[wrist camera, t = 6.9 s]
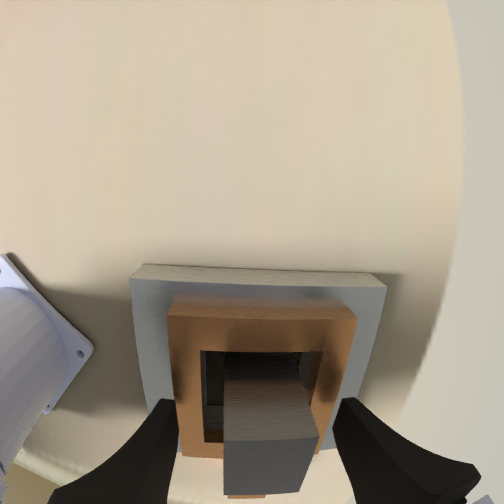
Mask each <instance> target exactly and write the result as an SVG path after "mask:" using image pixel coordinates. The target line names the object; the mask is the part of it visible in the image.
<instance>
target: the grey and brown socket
mask: <svg viewBox="0 0 504 504" xmlns="http://www.w3.org/2000/svg"><path fill="white" fill-rule="evenodd" d="M129 280H130V293H131V304H132V314H133V324H134V332H135V340H136V347H137V354H138V361H139V367H140V373H141V379H142V384H143V390H144V395H145V400H146V405H147V410H148V414H150V413H151V411H152V410H153V408H154V407H155V405H156V404H157V402H158V400H159V399H161V398H163V399H173V400H175V402H176V410H177V418H178V425H179V438H178V448H177V452H182V455H183V456H189V457H203V458H223V426H224V406H215V405H207V392H206V351H228V352H301V357H300V363H299V369H298V373H299V376H300V379H301V382H302V385H303V388H304V391H305V393H306V396H307V399H308V402H309V405H310V408H311V411H312V414H313V417H314V420H315V423H316V426H317V429H318V432H319V435H320V438H319V440H318V443H317V446H316V449H315V452H314V454H318V452H319V450H326V449H333V448H337V447H336V443H335V439H334V435H333V430H332V426H333V423H334V421H335V418H336V415H337V412H338V409H339V406H340V403H341V400H342V398H349V397H355V398H356V399H357V396H358V393H359V391H360V388H361V385H362V382H363V379H364V375H365V372H366V369H367V366H368V363H369V359H370V356H371V352H372V349H373V345H374V342H375V338H376V334H377V331H378V327H379V323H380V319H381V315H382V310H383V306H384V302H385V297H386V293H387V288H388V287H387V286H386V285H385V284H383V283H382V282H381V281H379V280H378V279H377V278H375V277H374V276H373V275H371V274H370V273H349V272H314V271H284V270H257V269H233V268H211V267H190V266H171V265H152V264H142V265H141V266H140V267H139V268H138V269H137V271H136V272H135V273H134V274H133V275H132V276H131V277H130V278H129ZM314 454H313V455H314ZM228 498H229V499H247V498H265V495H228Z"/></svg>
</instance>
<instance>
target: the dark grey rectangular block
mask: <svg viewBox="0 0 504 504" xmlns="http://www.w3.org/2000/svg"><path fill="white" fill-rule="evenodd" d="M319 438H320V435H319V432H318V429H317V426H316V423H315V420H314V417H313V414H312V411H311V408H310V405H309V402H308V399H307V396H306V393H305V391H304V388H303V385H302V382H301V379H300V376H299V373H298V370H297V367H296V364H295V361H294V358H293V355H292V352H228V351H225V361H224V426H223V476H224V495H267V494H282V493H293V492H299V490H300V487H301V485H302V483H303V480H304V478H305V475H306V473H307V470H308V468H309V465H310V462H311V460H312V457H313V454H314V452H315V449H316V446H317V443H318V440H319Z"/></svg>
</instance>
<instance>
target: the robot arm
mask: <svg viewBox="0 0 504 504" xmlns="http://www.w3.org/2000/svg"><path fill="white" fill-rule="evenodd" d="M0 268H1V270H0V504H4V502H3V501H2V499H3V497H4V495H5V492H6V490H7V488H8V487H7V485H6V484H5V483H4V481H3V478H4V475H6V473H7V471H8V469H9V468H10V466H11V464H12V462H13V460H14V459H15V457H16V455H17V453H18V452H19V450H20V448H21V447H22V445H23V443H24V442H25V440H26V438H27V437H28V435H29V433H30V432H31V430H32V429H33V427H34V425H35V424H36V422H37V421H38V419H39V417H40V416H41V414H42V413H44V414H47V415H48V414H49V413H50V412H51V410H52V409H53V407H54V406H55V404H56V403H57V401H58V400H59V398H60V397H61V396H62V394H63V393H64V391H65V390H66V388H67V387H68V386H69V384H70V383H71V381H72V380H73V379H74V377H75V376H76V374H77V373H78V372H79V370H80V369H81V368H82V366H83V365H84V364H85V362H86V361H87V360H88V358H89V357H90V356H91V354H92V353H93V351H94V347H93V344H92V343H91V342H90V341H89V340H88V339H87V338H86V337H84V336H83V335H82V334H81V333H80V332H79V331H78V330H77V329H76V328H74V327H73V326H72V325H71V324H70V323H69V322H68V321H67V320H66V319H65V318H64V317H63V316H62V315H61V314H59V313H58V312H57V311H56V310H55V309H54V308H53V307H52V306H51V305H50V304H49V303H48V302H47V301H46V300H45V299H44V298H43V297H42V295H41V294H40V293H39V292H38V291H37V290H36V289H35V288H34V287H33V286H32V285H31V284H30V283H29V282H28V280H27V279H26V278H25V277H24V276H23V275H22V274H21V273H20V271H19V270H18V269H17V268H16V267H15V266H14V264H13V263H12V262H11V261H10V260H9V258H8V257H7V256H6V255H5V254H1V255H0ZM80 351H82V352H83V353H84V354H82V353H81V352H80ZM332 430H333V435H334V439H335V443H336V447H337V449H338V452H339V455H340V457H341V460H342V462H343V465H344V467H345V470H346V472H347V475H348V477H349V480H350V482H351V485H352V488H353V492H354V496H355V500H356V504H466V503H467V500H466V498H465V496H466V495H467V494H468V493H469V492H470V491H471V490H472V489H473V488H474V487H475V486H476V485H477V484H478V483H479V481H480V479H481V475H480V473H479V472H478V470H477V469H476V468H475V466H474V465H473V464H469V463H464V462H460V461H455V460H451V459H448V458H445V457H442V456H440V455H437V454H434V453H432V452H430V451H428V450H425V449H423V448H421V447H419V446H417V445H416V444H414V443H412V442H410V441H409V440H407V439H405V438H404V437H402V436H401V435H400V434H398V433H397V432H395V431H394V430H393V429H391V428H390V427H389V426H387V425H386V424H385V423H384V422H382V421H381V420H380V419H379V418H378V417H377V416H375V415H374V414H373V413H372V412H371V411H370V410H369V409H367V408H366V407H365V406H364V405H363V404H362V403H361V402H360V401H359V400H357V399H356V398H355V397H349V398H342V400H341V403H340V406H339V409H338V412H337V415H336V418H335V421H334V423H333V426H332ZM178 438H179V425H178V418H177V410H176V402H175V400H173V399H163V398H161V399H159V400H158V402H157V404H156V405H155V407H154V408H153V410H152V411H151V413H150V414H149V416H148V417H147V418H146V420H145V421H144V422H143V423H142V425H141V426H140V427H139V429H138V430H137V431H136V432H135V433H134V434H133V436H132V437H131V438H130V439H129V440H128V441H127V442H126V443H125V444H124V445H123V446H122V447H121V448H120V449H119V450H118V451H117V452H116V453H115V454H114V455H112V456H111V457H110V458H109V459H108V460H106V461H105V462H104V463H102V464H101V465H100V466H98V467H97V468H96V469H94V470H93V471H91V472H89V473H88V474H86V475H84V476H82V477H81V478H79V479H77V480H75V481H73V482H71V483H69V484H67V485H64V486H62V487H60V488H57V489H55V490H54V492H53V493H52V495H51V497H50V499H49V501H48V503H47V504H167V496H168V490H169V485H170V480H171V476H172V471H173V467H174V462H175V458H176V453H177V448H178ZM473 504H494V503H493V502H492V500H491V498H490V497H489V496H488V495H485V496H484V497H482V498H481V499H479V500H478V501H476V502H475V503H473Z"/></svg>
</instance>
